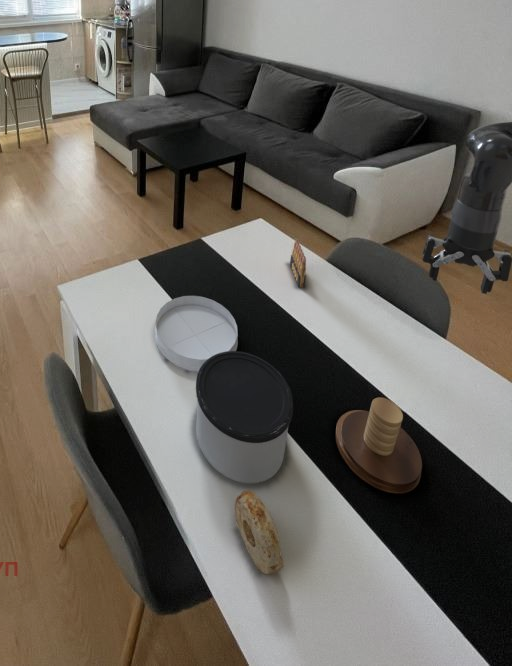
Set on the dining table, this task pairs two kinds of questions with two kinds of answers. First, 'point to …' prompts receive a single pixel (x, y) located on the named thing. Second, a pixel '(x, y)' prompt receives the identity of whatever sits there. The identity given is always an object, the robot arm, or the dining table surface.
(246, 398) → the container
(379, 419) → the chip roll
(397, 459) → the brown round base
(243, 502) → the bagel
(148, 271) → the dining table surface
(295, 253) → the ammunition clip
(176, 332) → the dish
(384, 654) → the dining table surface
